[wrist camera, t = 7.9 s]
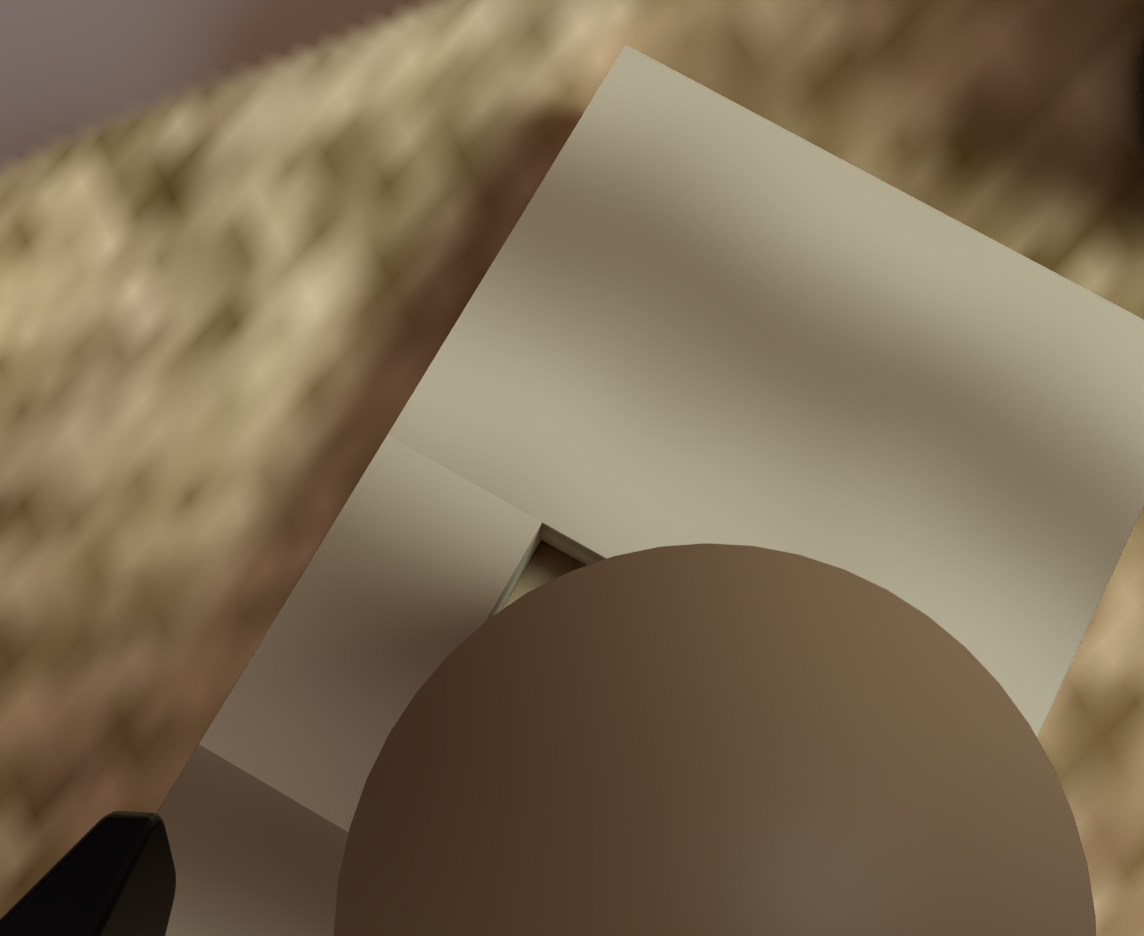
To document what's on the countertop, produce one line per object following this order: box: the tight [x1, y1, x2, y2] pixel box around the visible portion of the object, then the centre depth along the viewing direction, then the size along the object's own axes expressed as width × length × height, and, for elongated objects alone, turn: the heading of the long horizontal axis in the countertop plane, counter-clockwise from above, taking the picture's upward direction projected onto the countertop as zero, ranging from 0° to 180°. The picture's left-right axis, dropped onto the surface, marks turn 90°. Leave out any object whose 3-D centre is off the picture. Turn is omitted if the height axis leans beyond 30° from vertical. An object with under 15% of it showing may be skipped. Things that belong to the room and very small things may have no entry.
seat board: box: [156, 45, 1144, 936], centre depth 18 cm, size 16×11×2 cm
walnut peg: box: [334, 543, 1096, 936], centre depth 13 cm, size 5×5×12 cm
